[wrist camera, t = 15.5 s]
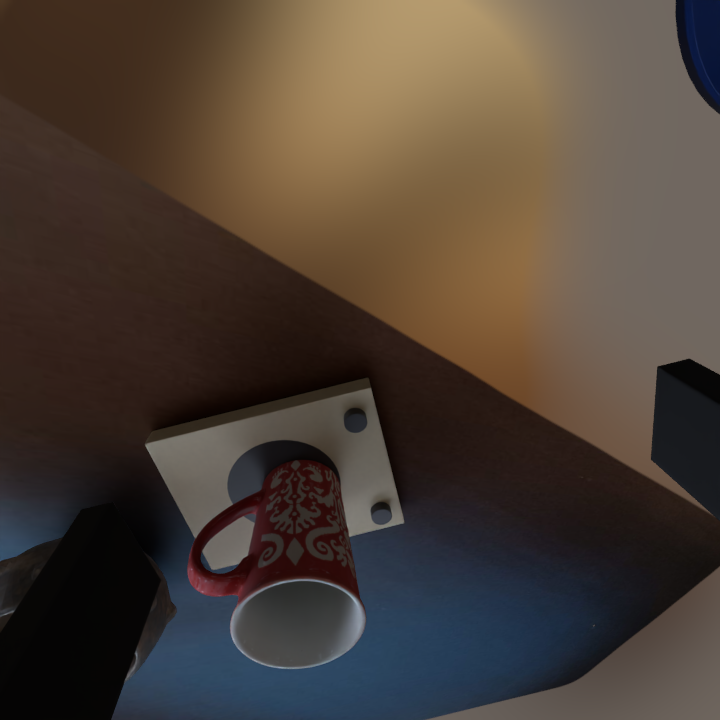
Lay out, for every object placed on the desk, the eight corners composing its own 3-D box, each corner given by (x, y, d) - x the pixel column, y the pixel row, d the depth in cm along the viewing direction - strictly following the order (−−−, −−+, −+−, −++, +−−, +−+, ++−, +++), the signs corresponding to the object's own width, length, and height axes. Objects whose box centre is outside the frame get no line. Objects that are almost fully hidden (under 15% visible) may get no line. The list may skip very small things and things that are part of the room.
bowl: (16, 501, 42) (-68, 597, 32) (187, 507, 44) (154, 599, 35) (38, 604, 47) (-27, 710, 38) (190, 605, 49) (162, 706, 40)
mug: (366, 465, 41) (389, 595, 29) (329, 535, 44) (335, 679, 32) (232, 425, 38) (194, 552, 26) (202, 503, 41) (156, 649, 29)
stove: (368, 376, 40) (372, 393, 37) (401, 508, 46) (406, 530, 44) (151, 431, 40) (139, 451, 37) (216, 554, 47) (209, 579, 44)
